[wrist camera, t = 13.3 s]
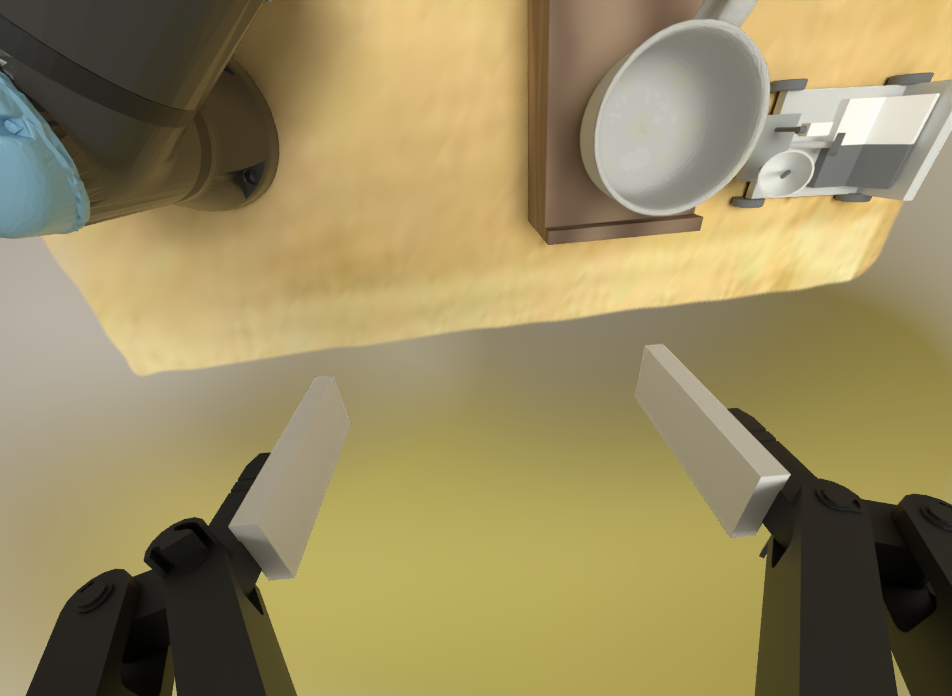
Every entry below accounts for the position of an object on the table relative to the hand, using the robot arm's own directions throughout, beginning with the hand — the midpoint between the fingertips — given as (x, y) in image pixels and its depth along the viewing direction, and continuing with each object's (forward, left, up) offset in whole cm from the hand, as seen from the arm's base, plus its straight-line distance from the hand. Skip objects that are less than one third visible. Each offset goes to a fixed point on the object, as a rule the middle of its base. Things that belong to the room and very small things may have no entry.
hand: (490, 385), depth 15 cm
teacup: (+15, +10, -22) cm, 28 cm away
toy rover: (+37, +5, -31) cm, 49 cm away
